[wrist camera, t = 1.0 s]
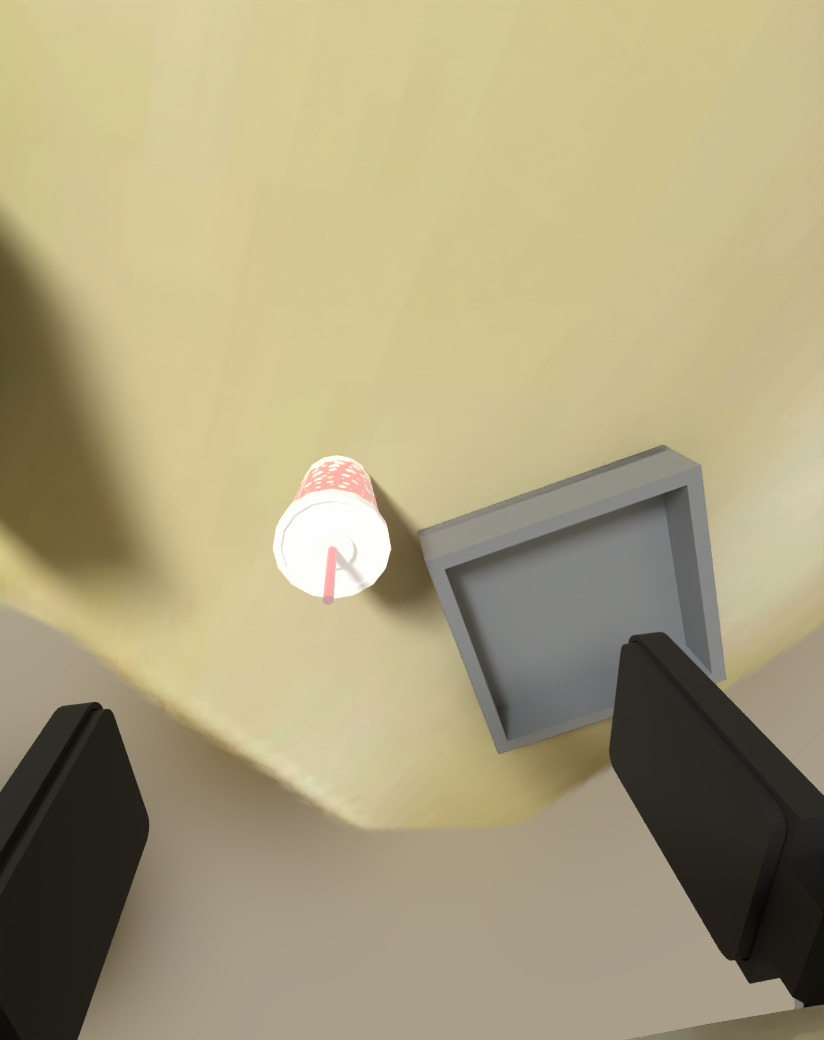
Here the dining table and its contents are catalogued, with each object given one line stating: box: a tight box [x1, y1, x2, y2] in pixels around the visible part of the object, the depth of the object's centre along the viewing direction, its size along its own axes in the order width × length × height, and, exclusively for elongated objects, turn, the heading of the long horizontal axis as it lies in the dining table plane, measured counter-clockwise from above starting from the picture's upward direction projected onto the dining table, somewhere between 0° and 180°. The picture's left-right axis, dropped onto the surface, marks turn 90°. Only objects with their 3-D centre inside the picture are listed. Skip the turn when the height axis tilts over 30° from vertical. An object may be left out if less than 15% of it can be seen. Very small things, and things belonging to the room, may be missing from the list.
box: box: [418, 445, 726, 754], centre depth 40 cm, size 18×18×4 cm
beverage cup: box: [273, 455, 391, 605], centre depth 30 cm, size 6×6×14 cm
